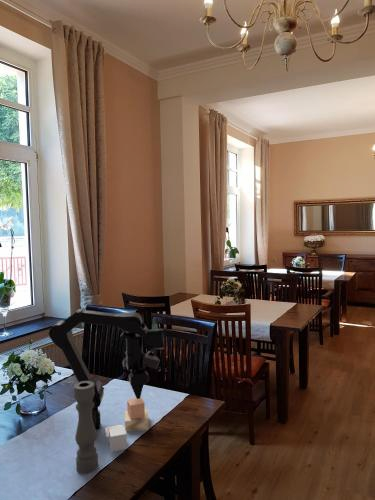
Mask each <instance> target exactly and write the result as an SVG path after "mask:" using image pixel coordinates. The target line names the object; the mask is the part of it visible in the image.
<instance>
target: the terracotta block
mask: <svg viewBox="0 0 375 500" xmlns="http://www.w3.org/2000/svg"><path fill="white" fill-rule="evenodd" d="M126 400H127V402H126V406H127V409H126V410H127V411H128V415H129V417H130V419H136V418H141V417H145V408H146V407H145V402H144V401H145V400H143V398H142V397H140V399H137V398H136V397H133V398H128V399H126Z"/></svg>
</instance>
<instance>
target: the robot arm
mask: <svg viewBox="0 0 375 500" xmlns="http://www.w3.org/2000/svg"><path fill="white" fill-rule="evenodd" d="M80 323H81V324H83V323H84V324H90V325H91V324H92V325H99V326H106V327H113V328H114V327H115V328H118V329H119V330H122V331H123V332H122V333H121V334H120V336H119V338H120V339H123V340H124V339H125V349H126V351H124V353H125V357H124V358H123V359H122V367H123V369H124V371H125V374H126V376H127V378H128V381H129V384H130V386H131V389H132V391H133V393H134V395H135V398H137V399H140V397H141V396H142V391H143V387H144V385H145V384H147V383H149V382H150V375H149V373H148V372H147V370H145V369H146V367H148V368H151V369H154V370H158V368H159V364H160V358H159V357H158V356H156V355H155V353H154V351H151V350H164V349H165V346H164V345H165V342H164V341H165V339H164V333H163V332H164V329H163V328H158V329H149V328H148V326H147V325H146V324H145V323H144V322H143V317H142V315H141V314H140V313H138V312H132V311H131V312H123V313H111V312H104V311H103V312H102V311H95V310H87V309H82V308H78V309H77V310H76V311H75V312H73V313H72V314H71V315H69V316H68V317H66V318H65V319H64V320H63V319H62V320H58V321H57V322H55V324H53V325H52V326H51V328H50V329H49V331H48V336H49V338H50V340H51V342H52V343H53V344H54V345H55V346H56V347H57V348H59V349H60V350H61V352H62V353H63V355H64V357H65V359H66V361H67V363H68V364H69V365H68V366H69V367H70V368H71V370H72V372H73V374H74V376H75V379H76V380H77V383H78V382H81V381H92V382H93V383H94V392H95V394H94V397H93V399H92V402H93V403H94V407H93V408H92V419H93V423H94V426H95V429H96V431H97V430H100V429H101V428H100V426H101V411H100V410H99V407H100V406H101V403H102V401H103V397H104V394H105V392H104V389H105V387H103V384H102V383H101V380H100V379H97V380H95V379H93V377H92V376H91V374H90V371H89V370H88V367H87V366H86V364H85V361H84V360H83V357H82V356H81V354H80V352H79V350H78V348H77V346H76V345H75V340H74V333H73V329H75V327H77V326H78V325H79V324H80ZM143 344H144V345H143ZM144 347H145V348H146V349H147V350H148V351H147V352H146V353H144ZM141 398H142V397H141Z"/></svg>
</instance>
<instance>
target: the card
mask: <svg viewBox="0 0 375 500" xmlns="http://www.w3.org/2000/svg"><path fill="white" fill-rule="evenodd" d="M121 426H123V424H117V425H112V426H107V427H104V431H105V436H106V438H109V429H110V428H115V427H121Z"/></svg>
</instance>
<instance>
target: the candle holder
mask: <svg viewBox="0 0 375 500" xmlns="http://www.w3.org/2000/svg"><path fill="white" fill-rule="evenodd" d="M73 393H74V395H73V397H74V399H75V402H76V405H75V410H77V413H78V417H77V418H78V421H77V426H76V431H75V442H76V444H77V445H78V450H77V451H76V457H75V462H76V463H75V465H76V471H77V473H79V474H83V475H86V474H87V475H88V474H92V473H93V472H95V471H96V470H97V469H98V467H99V455H98V454H99V453H98V450H97V448H96V447H95V443H96V441H97V438H98V437H97V436H98V434H97V430H96V429H95V426H94V423H93V419H92V408H93V407H94V403H93V402H92V399H93V397H94V394H95V392H94V383H93V382H92V381H81V382H78V381H77V383H74V385H73Z"/></svg>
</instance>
